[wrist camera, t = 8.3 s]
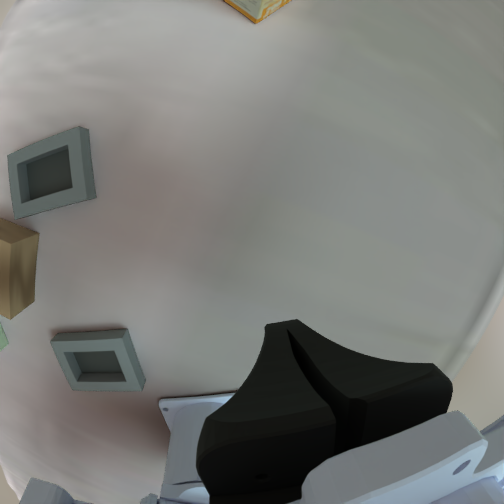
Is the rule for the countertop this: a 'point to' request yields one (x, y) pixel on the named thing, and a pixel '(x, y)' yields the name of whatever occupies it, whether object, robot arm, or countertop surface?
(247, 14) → the supplement box
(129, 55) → the countertop surface
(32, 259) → the tan block
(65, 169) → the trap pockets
